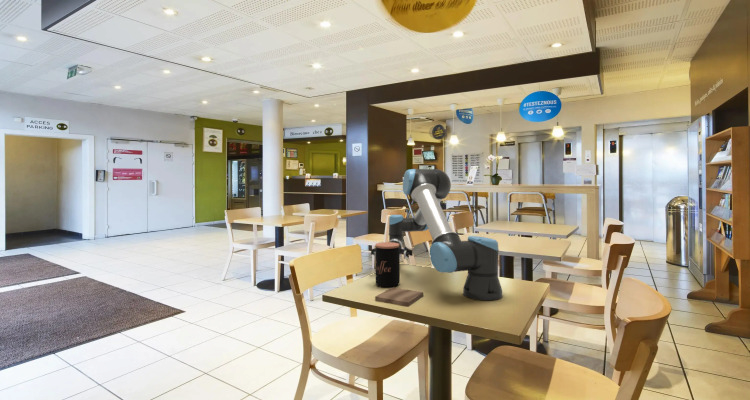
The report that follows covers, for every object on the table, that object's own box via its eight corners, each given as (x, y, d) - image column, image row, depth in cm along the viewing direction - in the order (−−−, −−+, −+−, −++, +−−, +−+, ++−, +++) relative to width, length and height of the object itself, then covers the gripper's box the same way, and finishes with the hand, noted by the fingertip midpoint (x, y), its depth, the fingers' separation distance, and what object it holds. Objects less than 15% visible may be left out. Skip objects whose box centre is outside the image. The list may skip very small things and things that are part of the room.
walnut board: (423, 296, 152) (423, 292, 152) (408, 306, 140) (408, 302, 140) (392, 290, 159) (392, 287, 159) (375, 300, 147) (375, 296, 147)
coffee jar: (370, 284, 169) (370, 244, 168) (387, 280, 176) (387, 241, 175) (387, 289, 161) (387, 247, 160) (404, 284, 168) (404, 244, 167)
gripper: (418, 254, 197) (416, 264, 176) (370, 253, 201) (363, 263, 180) (418, 240, 196) (416, 248, 175) (370, 239, 200) (363, 247, 179)
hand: (389, 255), depth 178 cm, fingers open, 13 cm apart
